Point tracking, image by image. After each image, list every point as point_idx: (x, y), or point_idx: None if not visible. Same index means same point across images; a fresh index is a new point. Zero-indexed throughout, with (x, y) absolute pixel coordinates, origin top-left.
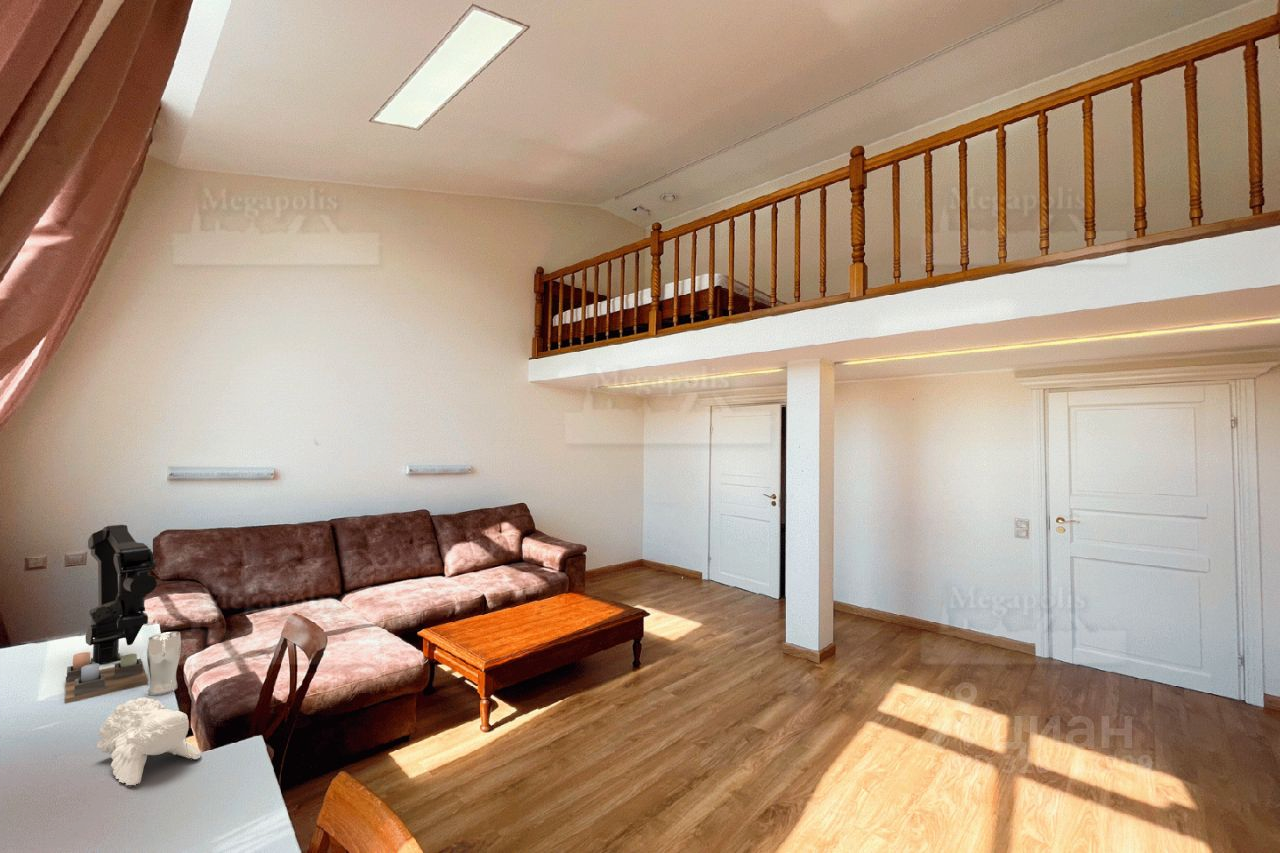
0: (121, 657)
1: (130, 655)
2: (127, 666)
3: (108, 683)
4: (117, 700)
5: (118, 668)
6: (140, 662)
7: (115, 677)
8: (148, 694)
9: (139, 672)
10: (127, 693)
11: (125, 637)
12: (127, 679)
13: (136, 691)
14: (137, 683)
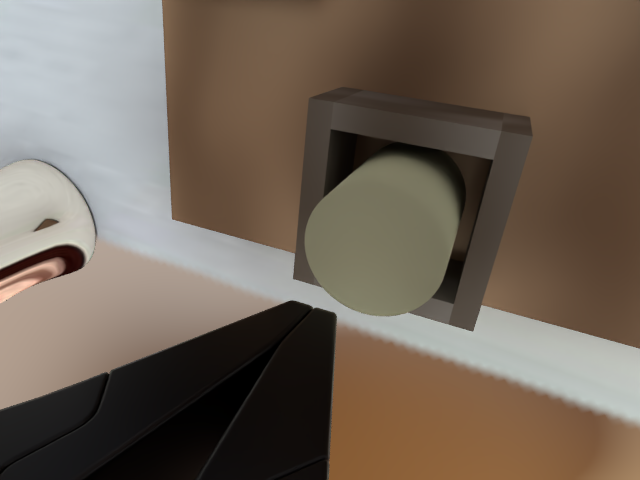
0: (374, 187)
1: (370, 264)
2: (315, 187)
3: (283, 27)
4: (39, 29)
5: (319, 121)
6: None
7: (338, 88)
8: (30, 159)
9: None
10: (113, 94)
11: (221, 360)
12: (270, 145)
13: (115, 136)
14: (174, 167)
